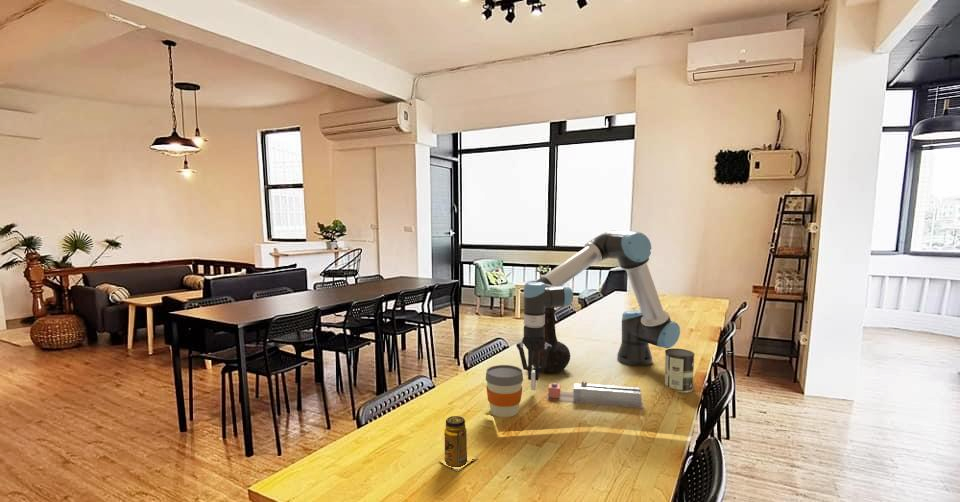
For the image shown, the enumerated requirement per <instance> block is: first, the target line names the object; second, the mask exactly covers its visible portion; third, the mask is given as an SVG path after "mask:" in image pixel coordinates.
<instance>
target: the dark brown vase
mask: <svg viewBox="0 0 960 502" xmlns="http://www.w3.org/2000/svg"><path fill="white" fill-rule="evenodd" d="M555 308H556V307H552V308H545V324H544V325H543V326H544V327H545V330H544V338H545V340H546V343H548V344H551V345H552V347H551V349H550V351H549V352H548V355H547V359H546V363H545V366H544V370H543V371H540V372H541V373H544V374H545V373H546V374H556V373H560V372H561V371H563V370H564V369H566V368H567V366H568V364H569V363H570V360H571V353H570V349H569V347H568V346H567V345H565V343H563V342H561V341H559V340H558V338H557V334H556V323H555V320H556V319H555V313H556V312H557V310H556V309H555ZM545 350H546V349H545V345H544V346H543V347H542V348H541V350H540V351H539V367H541V364H542V360H543V357H544V353H545ZM532 367H533V368H534V369H535V351H532Z"/></svg>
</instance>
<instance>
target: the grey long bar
mask: <svg viewBox="0 0 960 502" xmlns="http://www.w3.org/2000/svg"><path fill="white" fill-rule="evenodd" d="M573 393H574V395H573V402H575V403H574V404H582V403H590V404H589V405H593V404H601V405H600V406H604V405H612V406H611V407H615V406H623V407H622V408H626V407H634V408H633V409H636V408H641V399H642V396H643V395H642V391H641V392H639V391H627V390H615V389H603V388H591V387H582V383H578V382H577V383H576V382H575V383H573Z"/></svg>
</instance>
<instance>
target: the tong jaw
mask: <svg viewBox="0 0 960 502" xmlns="http://www.w3.org/2000/svg"><path fill="white" fill-rule="evenodd" d="M581 387H591V388H603V389H615V390H627V391H639V392H641V393H642V390H641V387H638V386H624V385H612V384H611V385H610V384H598V383H596V384H595V383H588V382H587V381H582V382H581Z"/></svg>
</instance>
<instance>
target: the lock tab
mask: <svg viewBox="0 0 960 502" xmlns="http://www.w3.org/2000/svg"><path fill="white" fill-rule="evenodd" d="M547 389H548V392H547V396H548V397H552V398H560V391H561V384H559V383H557V382H552V383H549V384H548V387H547Z"/></svg>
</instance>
